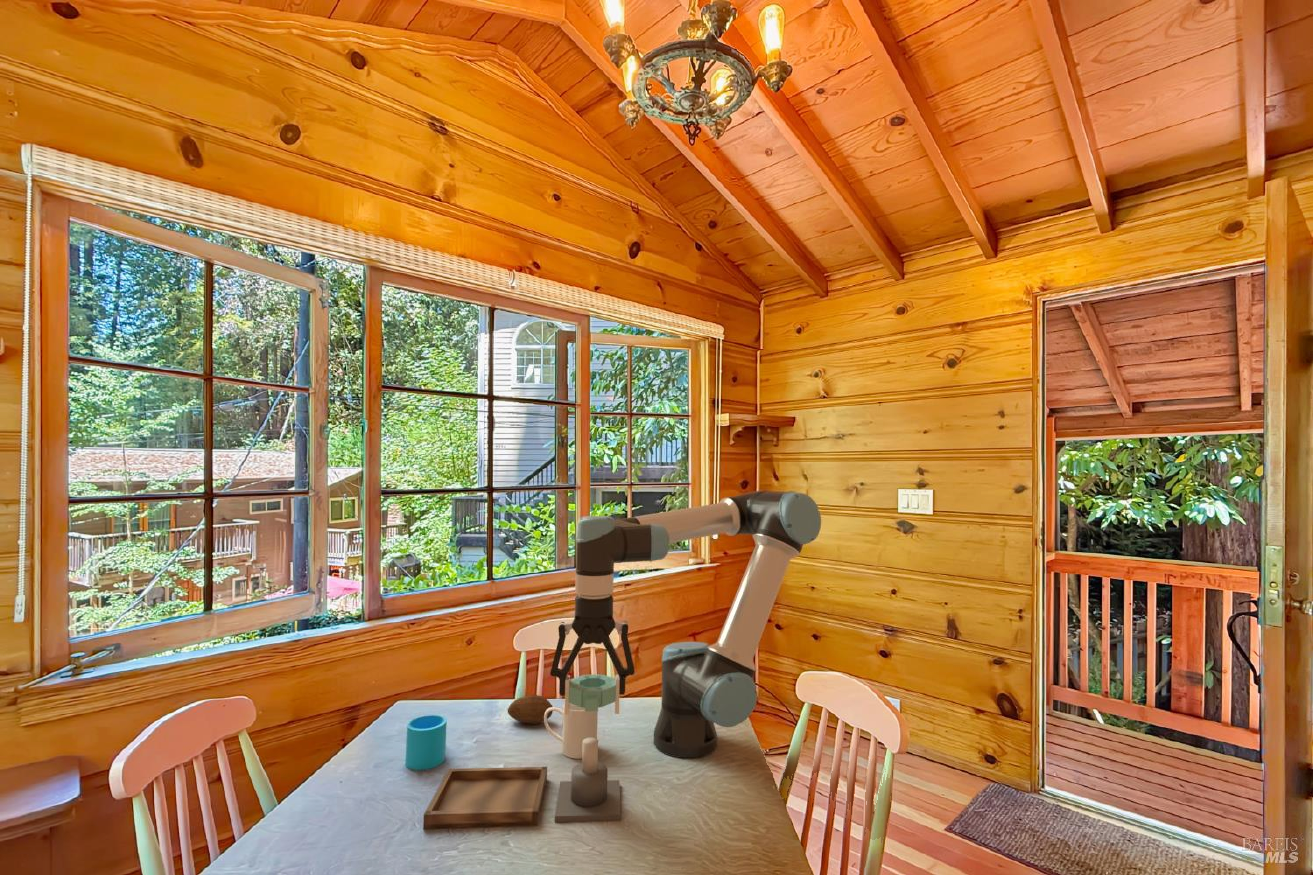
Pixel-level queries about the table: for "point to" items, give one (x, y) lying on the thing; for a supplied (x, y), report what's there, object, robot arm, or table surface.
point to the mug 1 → (426, 742)
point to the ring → (592, 691)
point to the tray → (487, 798)
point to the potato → (530, 709)
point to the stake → (588, 790)
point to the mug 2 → (574, 729)
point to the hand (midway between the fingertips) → (592, 711)
